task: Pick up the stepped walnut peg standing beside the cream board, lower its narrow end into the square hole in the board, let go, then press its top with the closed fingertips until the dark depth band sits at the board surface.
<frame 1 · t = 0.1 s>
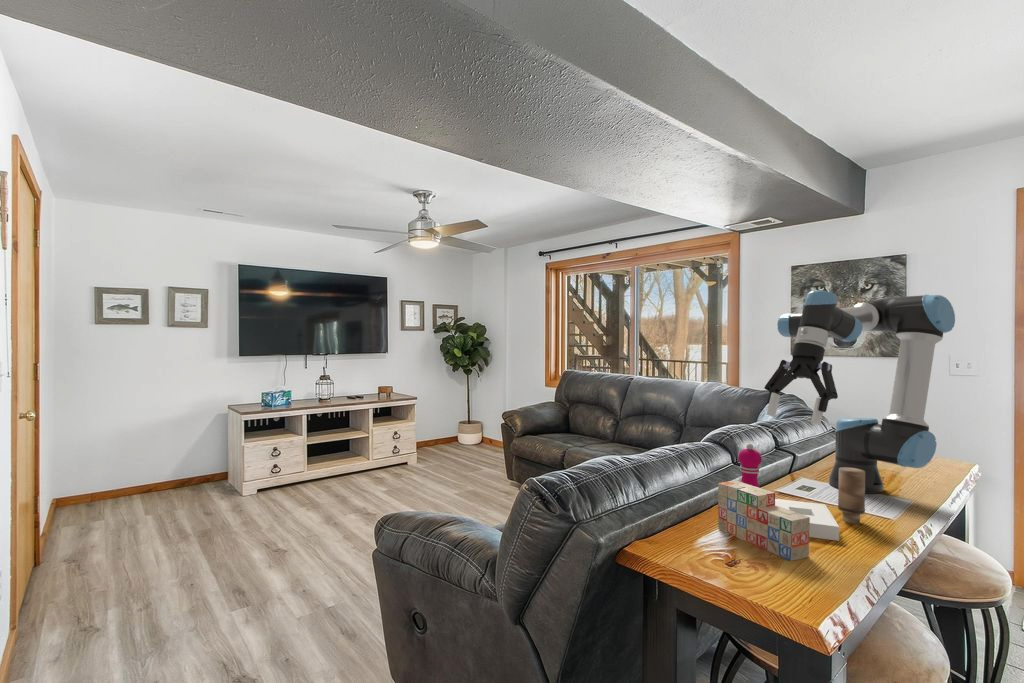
hand: (792, 419, 138), 28 cm above the table, tool tilted 20°, fingers open, 13 cm apart
pepper mill: (749, 514, 143), on the table
walnut peg: (851, 521, 138), on the table
stack of blocks: (760, 542, 124), on the table
cream board: (801, 524, 136), on the table
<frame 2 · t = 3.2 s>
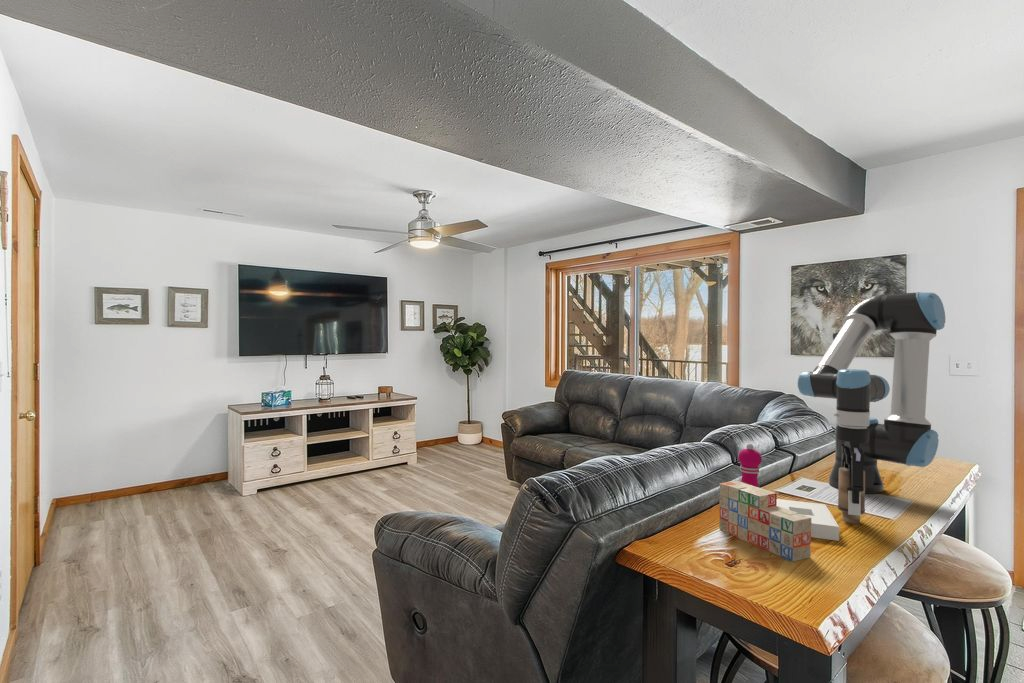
hand: (851, 510, 138), 3 cm above the table, tool pointing down, fingers closed on walnut peg, 6 cm apart
walnut peg: (851, 521, 138), on the table, touching gripper
everything else where it was.
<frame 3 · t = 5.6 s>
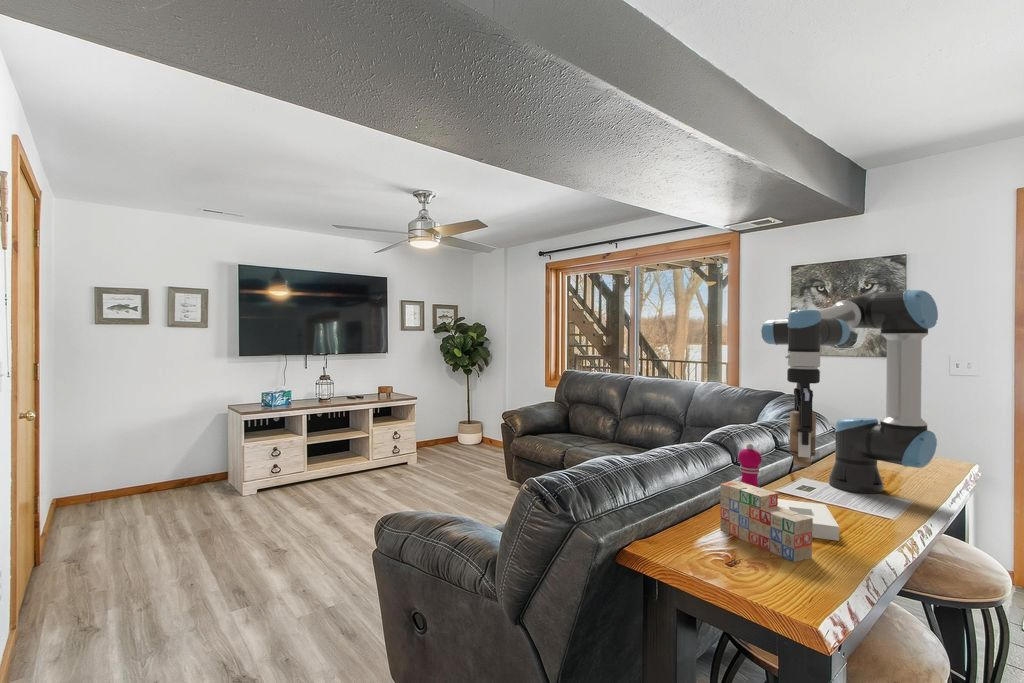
hand: (802, 454, 136), 19 cm above the table, tool pointing down, fingers closed on walnut peg, 6 cm apart
walnut peg: (802, 464, 136), point 16 cm above the table, touching gripper
everything else where it was.
when the fingers open (5 cm above the table, at t = 8.5 s): walnut peg drops 1 cm, resting on cream board.
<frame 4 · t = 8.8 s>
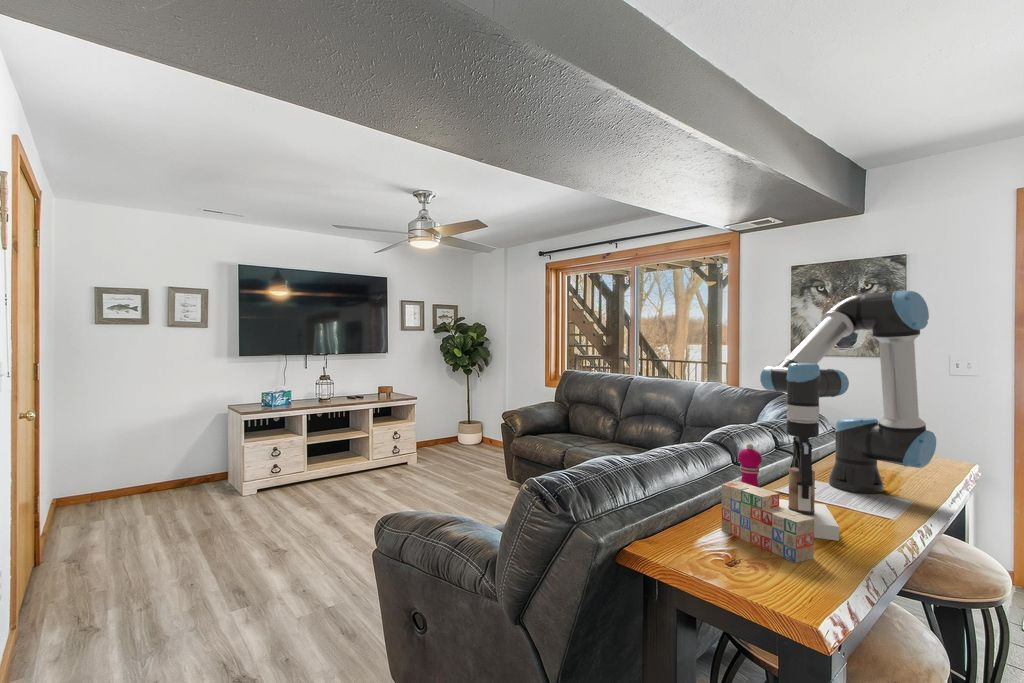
hand: (801, 504, 136), 5 cm above the table, tool pointing down, fingers open, 9 cm apart
walnut peg: (801, 522, 136), resting on cream board
everything else where it was.
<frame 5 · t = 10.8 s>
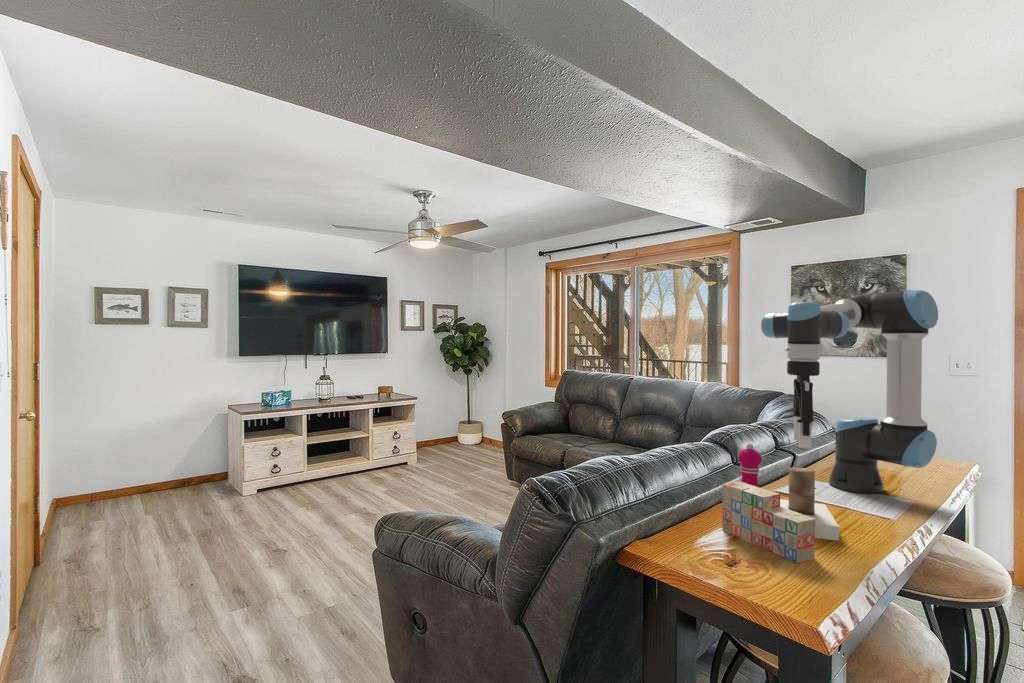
hand: (802, 444, 136), 22 cm above the table, tool pointing down, fingers open, 9 cm apart
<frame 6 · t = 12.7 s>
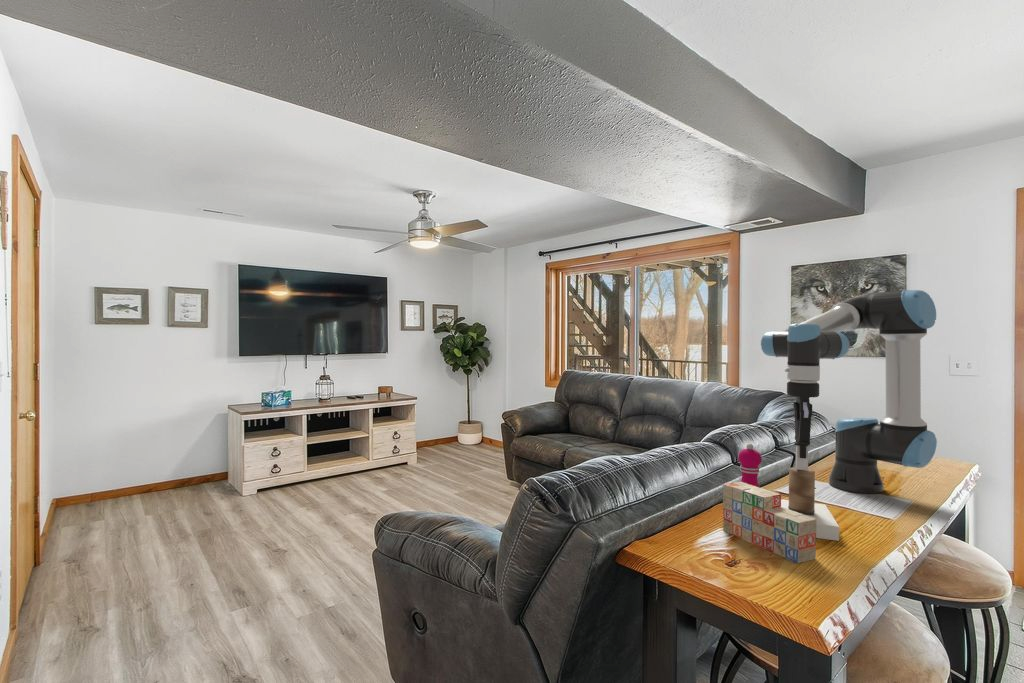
hand: (801, 469, 136), 15 cm above the table, tool pointing down, fingers closed
walnut peg: (801, 522, 136), resting on cream board, touching gripper
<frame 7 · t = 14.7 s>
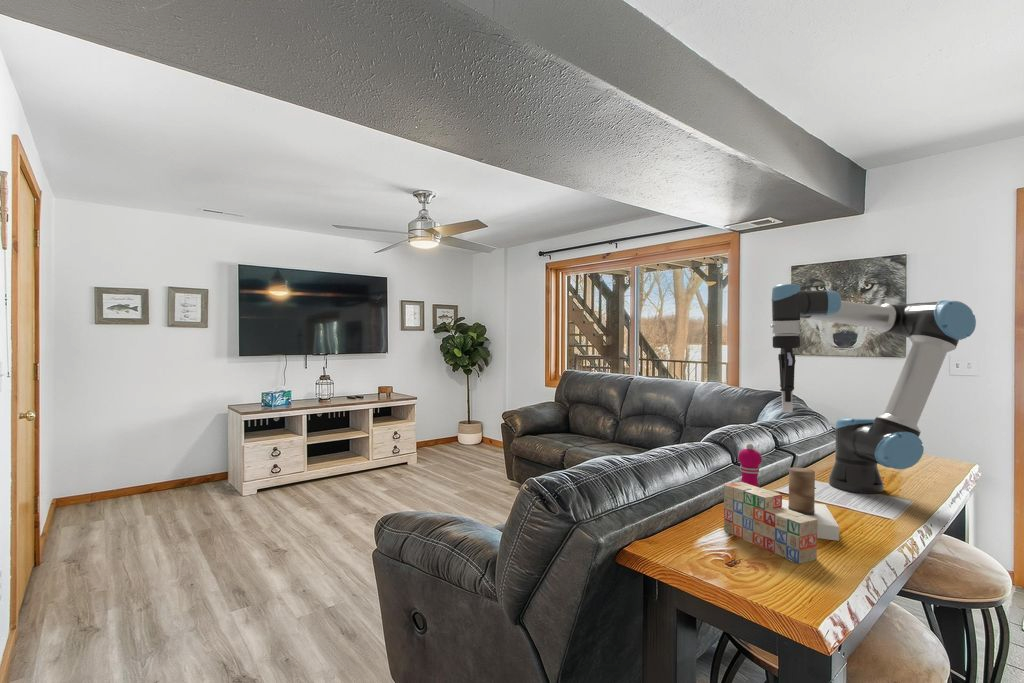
hand: (787, 412, 155), 27 cm above the table, tool pointing down, fingers closed
walnut peg: (801, 522, 136), resting on cream board
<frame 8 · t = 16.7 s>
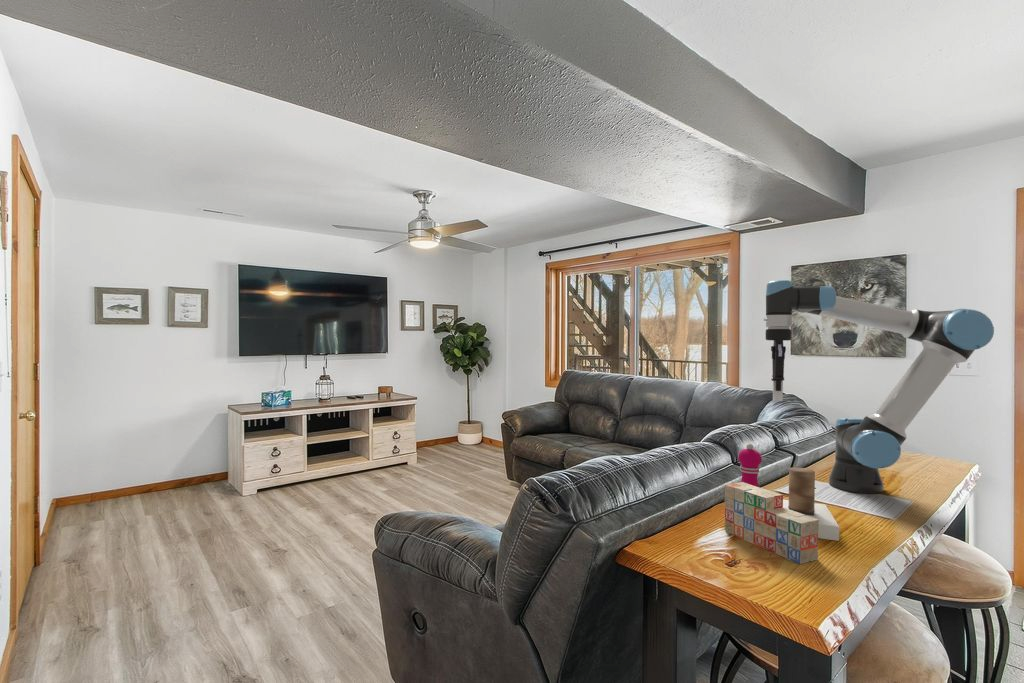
hand: (777, 400, 165), 29 cm above the table, tool pointing down, fingers closed
at the end: walnut peg 0.0 cm from the target spot, point 0.5 cm above the table; walnut peg tilted 0°; the gripper is holding nothing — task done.
